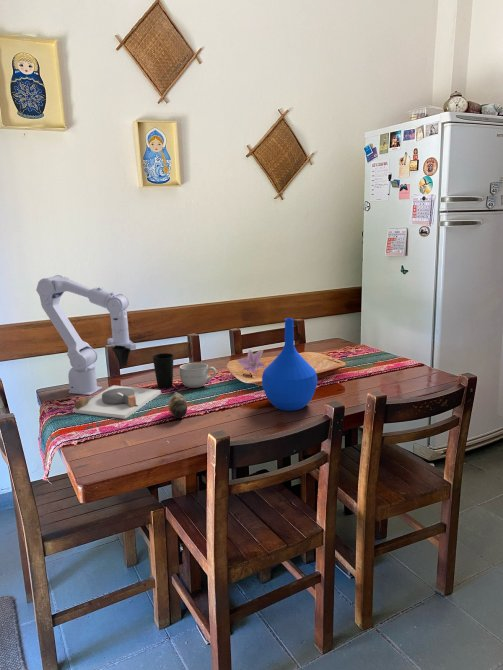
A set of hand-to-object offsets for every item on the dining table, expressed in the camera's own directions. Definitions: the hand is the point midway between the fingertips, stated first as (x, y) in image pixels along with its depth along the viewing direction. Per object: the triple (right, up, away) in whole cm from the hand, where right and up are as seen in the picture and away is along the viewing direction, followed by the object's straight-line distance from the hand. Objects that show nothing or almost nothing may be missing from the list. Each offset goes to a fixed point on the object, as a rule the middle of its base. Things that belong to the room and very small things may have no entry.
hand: (123, 365), depth 187 cm
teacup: (+26, -8, +8) cm, 29 cm away
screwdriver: (-10, -12, -11) cm, 19 cm away
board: (0, -12, -7) cm, 14 cm away
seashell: (+23, -16, -20) cm, 34 cm away
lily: (+47, -5, +20) cm, 51 cm away
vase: (+59, -13, -13) cm, 62 cm away
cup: (+14, -9, +8) cm, 18 cm away
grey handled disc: (+2, -11, -9) cm, 14 cm away
